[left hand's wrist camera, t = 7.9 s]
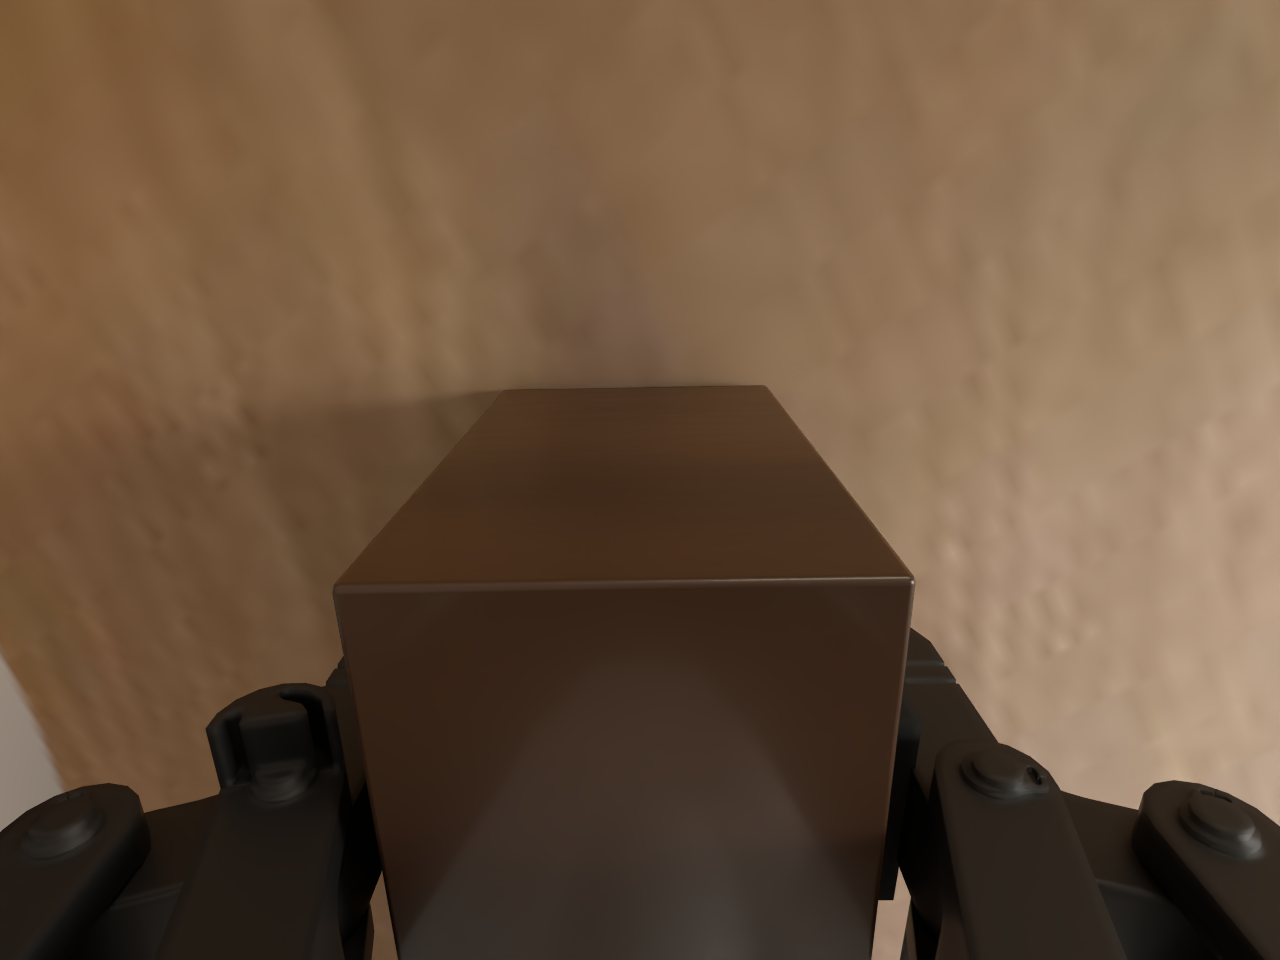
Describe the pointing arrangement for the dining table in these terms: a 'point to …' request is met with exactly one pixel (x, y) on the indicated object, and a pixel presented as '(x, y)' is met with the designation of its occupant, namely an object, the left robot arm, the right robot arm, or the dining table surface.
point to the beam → (629, 686)
